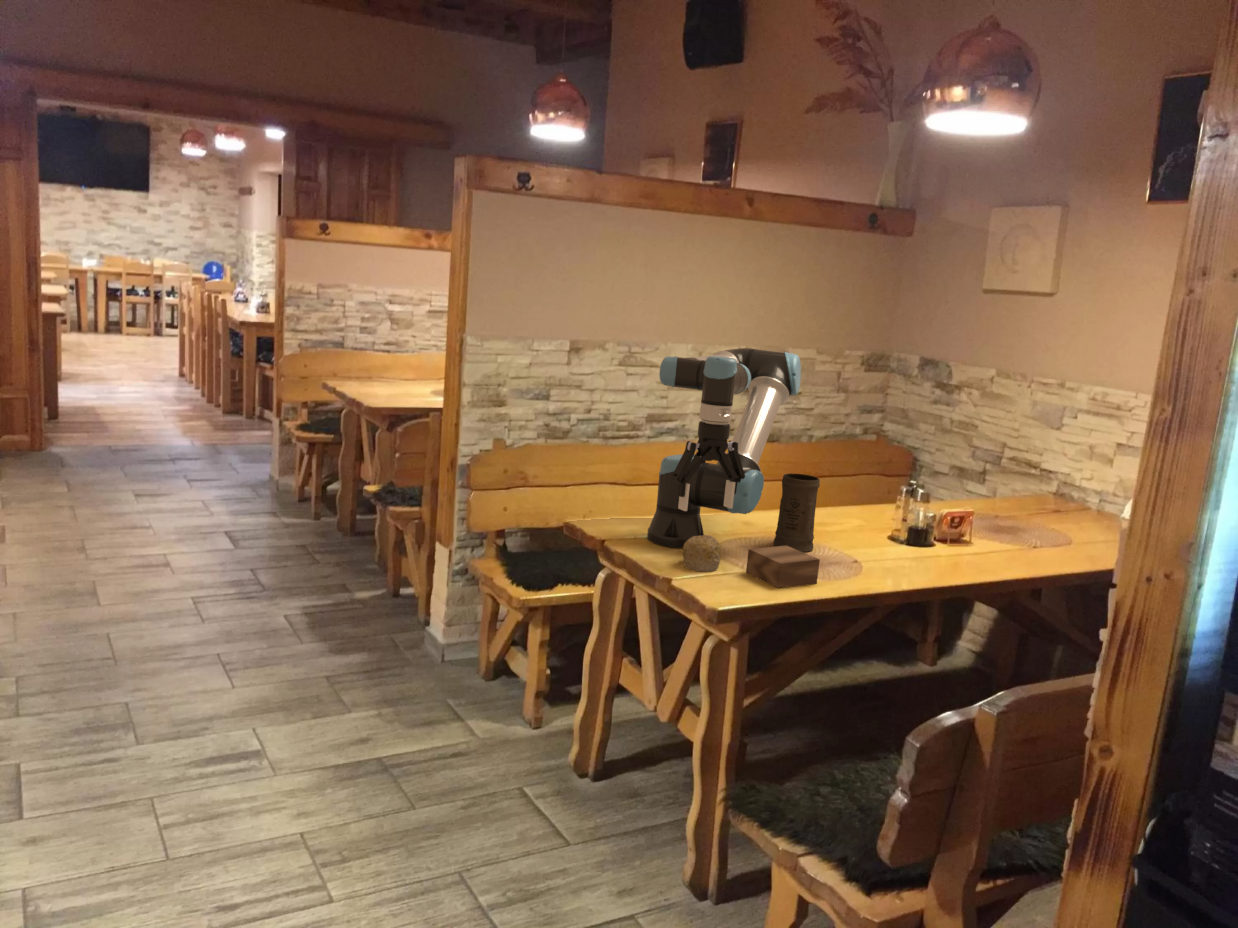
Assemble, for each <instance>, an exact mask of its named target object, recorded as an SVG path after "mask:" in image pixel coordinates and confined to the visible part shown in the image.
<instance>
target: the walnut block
mask: <svg viewBox="0 0 1238 928" xmlns="http://www.w3.org/2000/svg"><path fill="white" fill-rule="evenodd" d="M747 551H748V552H747V558H746V559H747V560H746V567H745V568H746V570H745V573H746V574H747V573H748V574H747V575H749V574H750V576H751V575H752V577H754V578H756V577H757V578H756V579H758V578H759V579H758V580H760V579H761V580H760V581H762V580H763V581H762V582H764V581H765V582H764V583H766V582H767V583H766V584H768V583H769V585H770V584H771V585H770V586H772V585H773V586H772V587H774V586H775V587H774V588H776V587H777V589H781V588H780V587H785V588H787V587H786V586H793V587H799V586H798V585H801V586H807V584H809V585H815V584H817V583H818V577H819V569H820V560H821V559H820V558H818V557H815V556H812V555H811V554H808V553H807V552H801V551H799V550H796V549H794V548H791V547H789V546H776V547H775V546H768V547H758V548H757V547H755V548H748V550H747Z"/></svg>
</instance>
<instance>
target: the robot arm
mask: <svg viewBox="0 0 1238 928" xmlns="http://www.w3.org/2000/svg"><path fill="white" fill-rule="evenodd" d="M801 366H802V365H801V359H800V357H799V355H797V354H795V353H791V352H787V351H784V352H782V351H772V350H765V349H758V348H757V349H756V348H746V347H745V348H744V347H743V348H741V347H740V348H732V349H725V350H719V351H717V352H714V353H713V354H712V355H701V356H691V357H681V356H680V357H679V356H666V357H665V356H664V358H663V359H662V360H661V363H660V366H659V372H658V373H659V375H658V376H659V381H660V383H661V384H662V385H663V386H667V387H671V388H680V389H681V388H682V389H688V390H696V391H702V392H701V400H700V407H699V414H698V415H699V416H698V418H699V419H700V421H699V422H698V427H697V438H698V441H697V442H694V441H691V440H688V441H686V444H685V448H684V451H683V453H681V454H674V455H673V454H672V455H668V456H665V457H664V458H663V459H662V460H661V461H660V469H659V473H658V475H659V476H658V485H657V486H658V487H657V499H656V510H655V513H654V515H653V517H652V519H651V521H650V525H649V527H648V528H647V536H646V539H647V540H648V541H649V542H651V543H652V544H653V543H654V544H656V545H659V546H664V547H667V548H675V549H676V548H677V549H683V546H684V544H685V542H686V541H687V540H688V539H690V538H691V537H693V536H704V535H705V533H704V528H703V523H702V518H701V508H707V509H711V510H712V509H713V510H718V511H724V512H727V513H731V514H741V515H746V514H750V513H751V512H753V511H754V510H755V508H756V507H757V506H758V504H759V501H761V500H760V499H761V497H762V494H763V493H762V491H763V490H764V486H765V485H764V484H765V483H764V482H765V477H764V474H763V472H762V470H761V466H760V465H759V463H760V460H761V458H762V457H761V456H762V454H763V451H764V449H765V446H766V444H767V441H768V438H769V436H770V433H771V430H772V427H773V425H774V422H775V420H776V417H777V414H778V412H779V409H780V406H782V405H784V404H786V403H787V401H788V400H789V398H790V396H791V397H794V396H797V395H798V394H799V392H800V389H801V380H802V379H801V378H802V376H801V375H802V367H801ZM746 390H748V392H749V398H748V400H747V403H746V406H745V408H744V411H743V413H742V415H741V417H740V420H739V424H738V425H737V428H736V431H735V433H734V435H733V438H732V440H729V438H730V432H731V431H730V430H731V425H730V422H731V421H732V414H733V402H734V396H735V395H738V394H739V395H740V394H742V393H743V392H744V391H746ZM726 451H727V452H726ZM695 452H696V453H695ZM711 461H714V462H715V461H717V463H712V462H711Z"/></svg>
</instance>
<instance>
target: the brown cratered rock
mask: <svg viewBox="0 0 1238 928" xmlns="http://www.w3.org/2000/svg"><path fill="white" fill-rule="evenodd" d="M682 550H683V553H682V555H683V556H682V557H683V558H682V559H683V566H684V567H686V569H688V570H692V571H695V572H709V573H710V572H715V571H717V569H719V565H720V561H721V545H720V542H719V541H718V539H717V538H716V537H714V536H712V535H709V534H708V535H707V534H704V536H693V537H691V538H690V539H688V540H687V541H686V542H685V544H684V546H683V548H682Z"/></svg>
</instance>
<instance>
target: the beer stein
mask: <svg viewBox="0 0 1238 928" xmlns="http://www.w3.org/2000/svg"><path fill="white" fill-rule="evenodd" d="M820 486H821V483H820V478H819V477H817V476H813V475H811V474H801V473H784V474H783V476H782V479H781V489H782V490H781V498H780V503H779V511H778V518H777V523H776V525H777V527H776V530H775V537H774V539H773V541H772V544H773V547H776V546H789V547H791V548H794V549H796V550H799V551H801V552H803V553H809V552H811V551H813V550H814V543H813V541H814V539H815V535H814V531H815V529H814V528H815V516H816V508H817V507H816V506H817V500H818V497H817V496H818V491H819V488H820Z"/></svg>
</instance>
